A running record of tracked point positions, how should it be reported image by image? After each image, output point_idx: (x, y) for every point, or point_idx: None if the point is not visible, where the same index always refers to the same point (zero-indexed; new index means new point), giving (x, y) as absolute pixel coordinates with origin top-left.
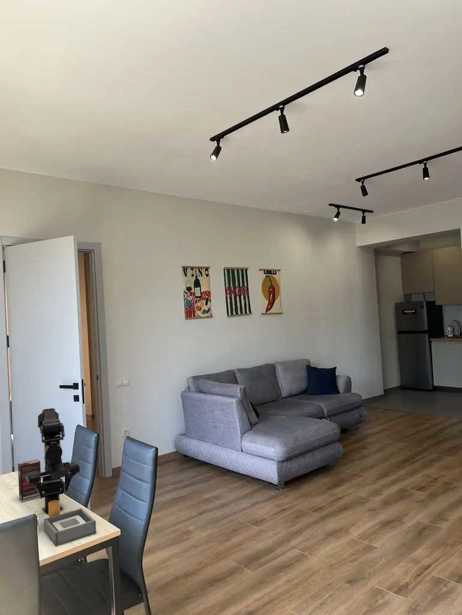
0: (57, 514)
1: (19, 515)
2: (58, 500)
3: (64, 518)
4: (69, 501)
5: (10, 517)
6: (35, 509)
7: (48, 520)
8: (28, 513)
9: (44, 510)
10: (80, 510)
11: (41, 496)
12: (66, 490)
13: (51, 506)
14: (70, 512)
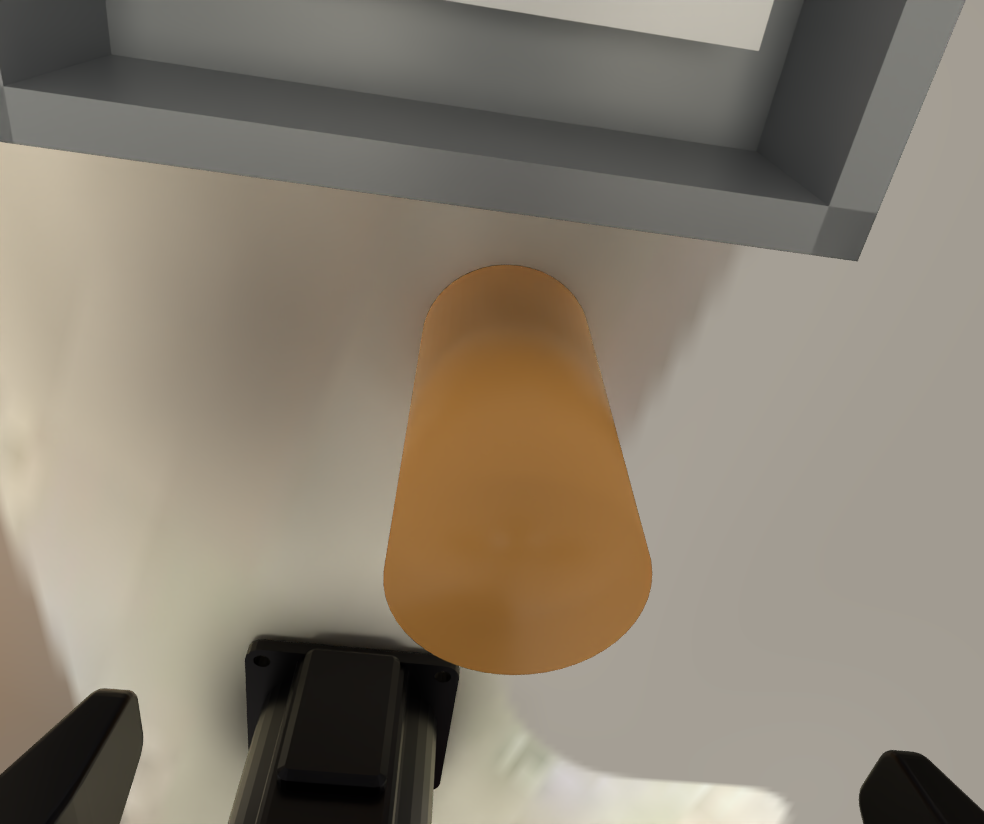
0: (493, 337)
1: (668, 799)
2: (397, 591)
3: (429, 122)
4: None
5: (747, 813)
6: (487, 813)
7: (774, 187)
8: (584, 784)
9: (445, 732)
10: (16, 72)
11: (955, 811)
12: (96, 730)
13: (620, 481)
14: (269, 125)
